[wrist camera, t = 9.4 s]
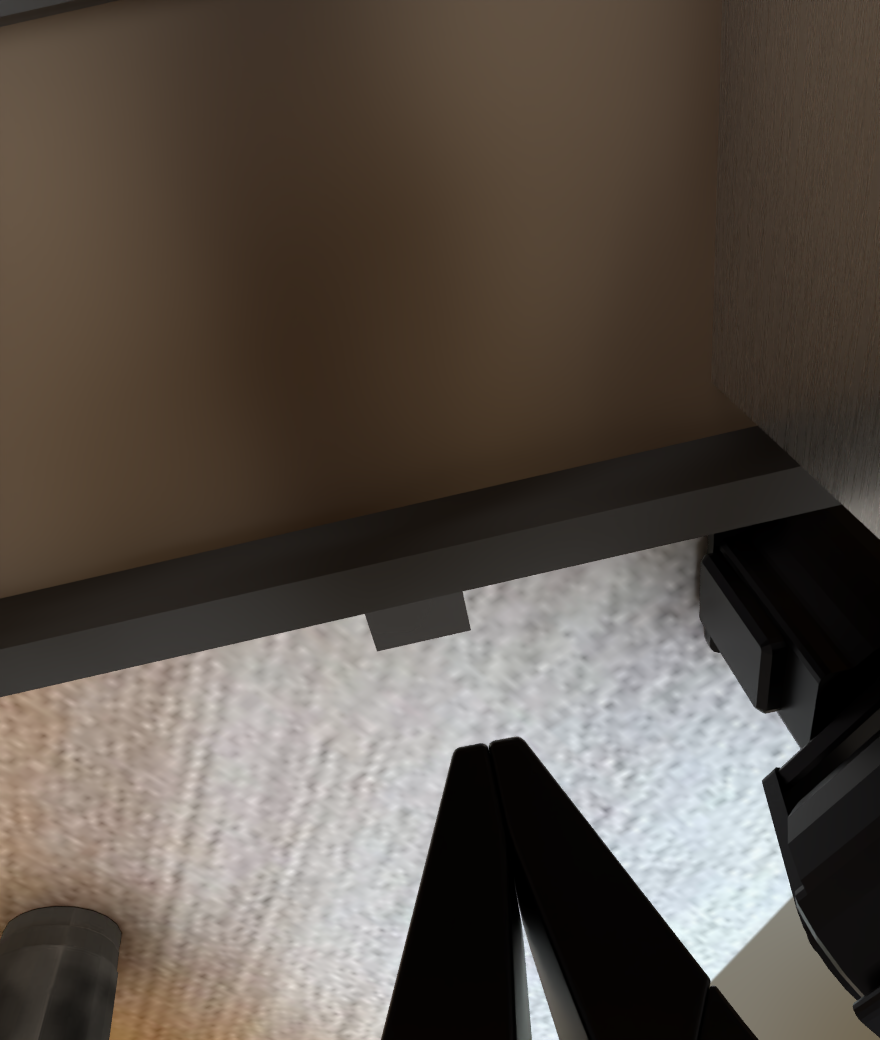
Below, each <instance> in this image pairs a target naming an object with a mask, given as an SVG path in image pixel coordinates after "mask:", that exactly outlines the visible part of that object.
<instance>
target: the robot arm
mask: <svg viewBox="0 0 880 1040" xmlns="http://www.w3.org/2000/svg"><path fill="white" fill-rule="evenodd" d="M699 617H700V620H701V622H702V624H703V625H704V627H705V639H706V642H707V643H708V645H709V647H710V648H711V649H712V650H713V651H714V652H718V653H721V654H722V656H723V657H724V659H725V661H726V662H727V664H728V665H729V667H730V669H731V670H732V672H733V674H734V675H735V677H736V678H737V680H738V682H739V683H740V685H741V686H742V688H743V690H744V691H745V693H746V695H747V696H748V698H749V699H750V701H751V703H752V704H753V706H754V707H755V708H756V709H758V710H759V711H761V712H762V713H765V714H766V713H770V712H775V711H777V713H778V715H779V716H780V718H781V719H782V721H783V722H784V724H785V725H786V727H787V728H788V730H789V732H790V733H791V735H792V736H793V738H794V739H795V741H796V742H797V744H798V745H799V747H800V749H801V750H799V751H798V752H797V753H796V754H795V755H794V756H793V757H792V758H791V759H790V760H789V761H788V762H787V763H786V764H784V765H783V766H782V767H781V768H777V767H776V768H775V769H774V770H773V771H772V772H771V773H770V774H769V775H767V776H766V777H765V778H764V779H763V780H762V784H763V787H764V791H765V795H766V798H767V802H768V806H769V809H770V813H771V817H772V820H773V824H774V828H775V831H776V835H777V839H778V842H779V846H780V850H781V853H782V857H783V861H784V864H785V868H786V872H787V875H788V879H789V883H790V886H791V890H792V894H793V897H794V901H795V905H796V908H797V911H798V914H799V916H800V919H801V922H802V924H803V927H804V929H805V931H806V933H807V937H808V939H809V942H810V944H811V945H812V947H813V948H814V950H815V951H816V952H817V953H818V954H819V956H820V957H821V958H822V959H823V961H824V963H825V964H826V966H827V967H828V969H829V970H830V971H831V972H832V974H833V975H834V976H835V977H836V978H837V979H838V981H839V982H840V983H841V984H842V986H843V987H844V988H845V989H846V990H847V991H848V992H849V993H850V994H851V995H852V996H853V997H854V998H855V999H856V1000H857V1001H856V1002H855V1003H854V1004H853V1010H854V1012H855V1014H856V1016H857V1017H858V1019H859V1020H860V1021H861V1022H862V1023H863V1024H865V1026H867V1027H868V1028H869V1029H870V1030H871V1031H873V1032H874V1033H875V1034H876V1035H877V1036H878V1037H879V1038H880V539H879V538H878V537H877V536H875V535H874V534H873V533H872V532H871V531H870V530H869V529H868V528H867V527H866V526H865V525H864V524H863V523H862V522H860V521H859V520H858V519H857V518H856V517H855V516H854V515H853V514H852V513H851V512H850V511H849V510H848V509H847V508H846V507H844V506H843V505H837V506H833V507H829V508H824V509H820V510H816V511H811V512H807V513H802V514H798V515H794V516H789V517H785V518H781V519H776V520H772V521H767V522H763V523H759V524H754V525H750V526H746V527H741V528H737V529H733V530H728V531H724V532H719V533H715V534H711V535H708V549H707V554H705V556H704V557H703V559H702V561H701V570H700V611H699ZM517 899H518V900H517ZM518 904H519V906H518ZM519 908H520V912H521V917H522V921H523V925H524V929H525V932H526V936H527V939H528V943H529V946H530V949H531V952H532V955H533V959H534V962H535V965H536V968H537V971H538V974H539V977H540V980H541V984H542V987H543V990H544V993H545V996H546V999H547V1002H548V1005H549V1009H550V1012H551V1015H552V1018H553V1021H554V1024H555V1027H556V1031H557V1034H558V1037H559V1040H758V1038H757V1037H756V1036H755V1035H754V1034H753V1033H752V1031H751V1030H750V1029H749V1028H748V1026H747V1025H746V1024H745V1023H744V1022H743V1020H742V1019H741V1018H740V1016H739V1015H738V1014H737V1012H736V1011H735V1010H734V1009H733V1007H732V1006H731V1005H730V1003H729V1002H728V1001H727V1000H726V998H725V997H724V996H723V994H722V993H721V992H720V991H719V989H718V988H717V987H716V986H711V987H710V978H709V977H708V976H707V974H706V973H705V972H704V971H703V969H702V968H701V967H700V965H699V964H698V963H697V962H696V960H695V959H694V958H693V956H692V955H691V954H690V953H689V951H688V950H687V949H686V947H685V946H684V945H683V944H682V942H681V941H680V940H679V938H678V937H677V936H676V935H675V933H674V932H673V931H672V929H671V928H670V927H669V926H668V924H667V923H666V922H665V920H664V919H663V918H662V917H661V915H660V914H659V913H658V911H657V910H656V909H655V908H654V906H653V905H652V904H651V902H650V901H649V900H648V899H647V897H646V896H645V895H644V893H643V892H642V891H641V890H640V888H639V887H638V886H637V884H636V883H635V882H634V881H633V879H632V878H631V877H630V875H629V874H628V873H627V872H626V870H625V869H624V868H623V866H622V865H621V864H620V863H619V861H618V860H617V859H616V857H615V856H614V855H613V854H612V852H611V851H610V850H609V848H608V847H607V846H606V845H605V843H604V842H603V841H602V839H601V838H600V837H599V836H598V834H597V833H596V832H595V830H594V829H593V828H592V827H591V825H590V824H589V823H588V821H587V820H586V819H585V818H584V816H583V815H582V814H581V812H580V811H579V810H578V809H577V807H576V806H575V805H574V803H573V802H572V801H571V800H570V798H569V797H568V796H567V794H566V793H565V792H564V791H563V789H562V788H561V787H560V785H559V784H558V783H557V782H556V780H555V779H554V778H553V776H552V775H551V774H550V773H549V771H548V770H547V769H546V767H545V766H544V765H543V764H542V762H541V761H540V760H539V758H538V757H537V756H536V755H535V753H534V752H533V751H532V749H531V748H530V747H529V746H528V744H527V743H526V742H525V741H524V740H523V739H522V738H520V737H511V738H506V739H500V740H495V741H492V742H491V743H490V745H489V749H488V746H487V745H486V744H483V743H480V744H474V745H469V746H464V747H459V748H457V749H456V750H455V751H454V753H453V756H452V759H451V763H450V767H449V771H448V775H447V779H446V783H445V787H444V791H443V795H442V799H441V803H440V807H439V811H438V815H437V819H436V823H435V827H434V831H433V835H432V839H431V843H430V847H429V851H428V855H427V859H426V863H425V867H424V871H423V875H422V879H421V883H420V887H419V891H418V895H417V899H416V903H415V907H414V911H413V915H412V919H411V923H410V927H409V931H408V935H407V939H406V942H405V946H404V950H403V954H402V958H401V962H400V966H399V970H398V974H397V978H396V982H395V986H394V990H393V994H392V998H391V1002H390V1006H389V1010H388V1014H387V1018H386V1022H385V1026H384V1030H383V1034H382V1038H381V1040H532V1035H531V1023H530V1011H529V999H528V987H527V975H526V963H525V951H524V941H523V932H522V924H521V918H520V912H519Z"/></svg>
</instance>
